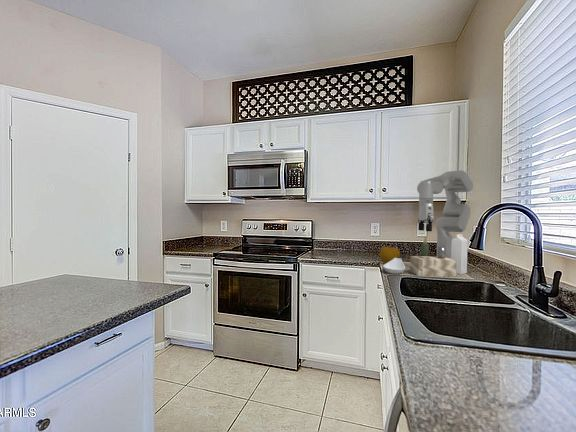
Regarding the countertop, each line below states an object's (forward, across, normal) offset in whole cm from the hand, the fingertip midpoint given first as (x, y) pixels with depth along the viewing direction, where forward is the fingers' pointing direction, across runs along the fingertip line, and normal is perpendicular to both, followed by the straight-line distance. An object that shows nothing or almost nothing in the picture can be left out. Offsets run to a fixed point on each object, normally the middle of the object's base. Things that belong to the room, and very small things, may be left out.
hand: (424, 230), depth 177 cm
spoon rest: (+24, -4, +18) cm, 30 cm away
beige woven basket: (+23, -12, 0) cm, 26 cm away
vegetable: (+23, +1, -1) cm, 23 cm away
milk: (+23, -6, -18) cm, 30 cm away
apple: (+23, +20, +13) cm, 33 cm away
